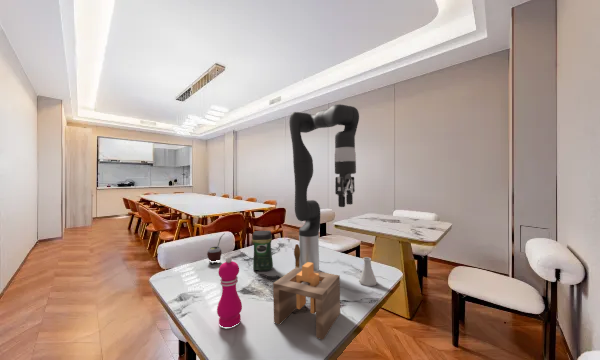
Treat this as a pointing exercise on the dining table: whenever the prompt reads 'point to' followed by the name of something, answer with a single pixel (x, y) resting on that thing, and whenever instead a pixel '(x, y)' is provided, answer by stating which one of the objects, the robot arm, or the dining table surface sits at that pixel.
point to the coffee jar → (262, 250)
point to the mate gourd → (214, 252)
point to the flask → (367, 273)
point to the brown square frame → (323, 293)
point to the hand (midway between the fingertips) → (345, 205)
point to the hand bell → (297, 255)
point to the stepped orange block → (313, 279)
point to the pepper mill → (229, 295)
